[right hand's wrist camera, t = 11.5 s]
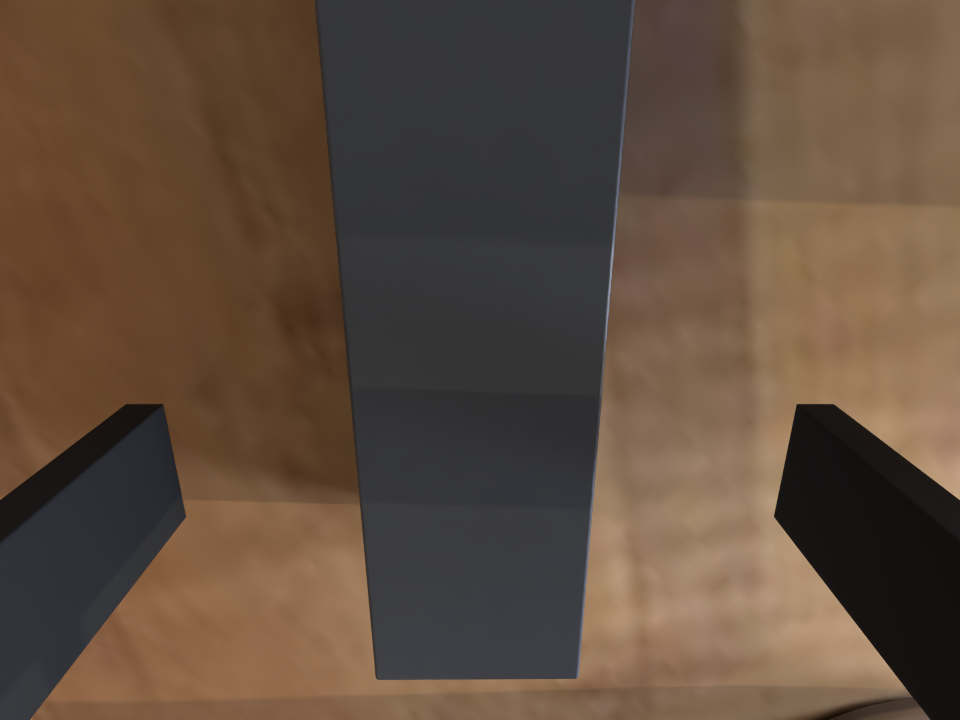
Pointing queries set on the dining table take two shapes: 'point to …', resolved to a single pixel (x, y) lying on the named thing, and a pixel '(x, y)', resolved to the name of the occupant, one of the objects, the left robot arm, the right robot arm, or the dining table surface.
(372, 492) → the beam
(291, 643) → the dining table surface
